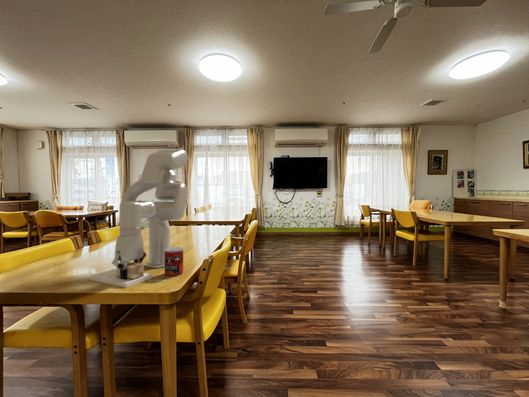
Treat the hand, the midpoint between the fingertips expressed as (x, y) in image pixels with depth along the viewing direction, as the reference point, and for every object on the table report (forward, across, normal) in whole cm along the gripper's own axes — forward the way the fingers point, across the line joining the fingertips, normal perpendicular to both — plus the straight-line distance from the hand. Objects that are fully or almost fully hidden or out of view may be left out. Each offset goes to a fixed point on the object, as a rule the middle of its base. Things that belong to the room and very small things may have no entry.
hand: (130, 276), depth 98 cm
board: (+2, 0, -5) cm, 6 cm away
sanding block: (0, 0, 0) cm, 0 cm away
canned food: (+2, -14, +10) cm, 17 cm away
